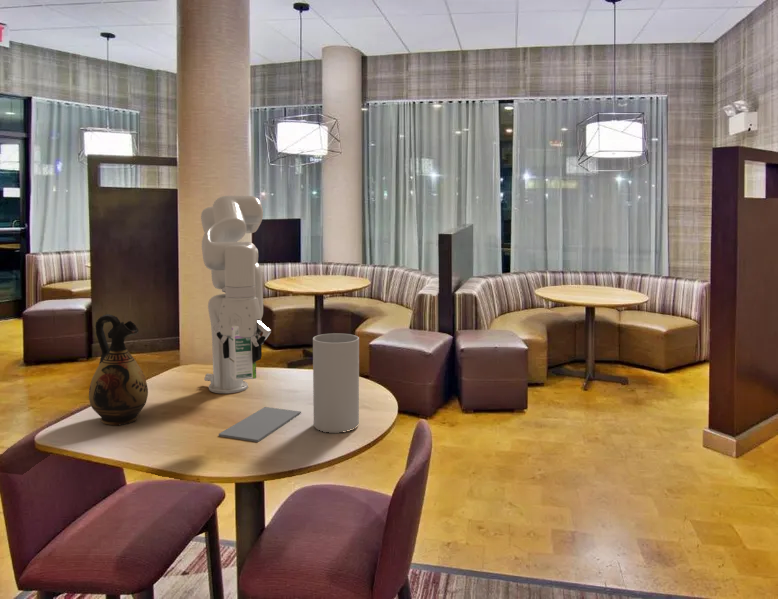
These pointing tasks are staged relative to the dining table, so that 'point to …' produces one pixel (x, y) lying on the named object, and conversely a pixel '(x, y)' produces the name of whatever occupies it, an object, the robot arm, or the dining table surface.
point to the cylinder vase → (336, 382)
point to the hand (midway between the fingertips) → (242, 358)
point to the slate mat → (260, 424)
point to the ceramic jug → (117, 376)
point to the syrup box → (241, 356)
